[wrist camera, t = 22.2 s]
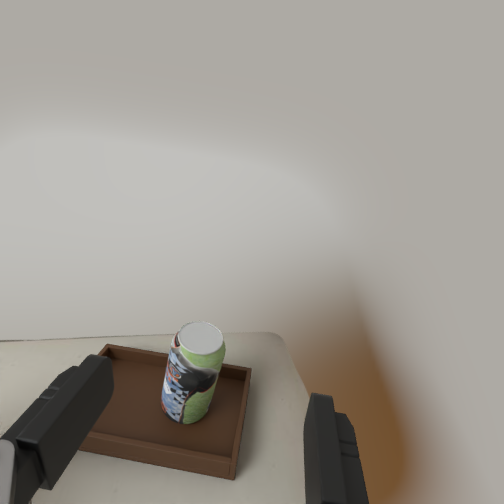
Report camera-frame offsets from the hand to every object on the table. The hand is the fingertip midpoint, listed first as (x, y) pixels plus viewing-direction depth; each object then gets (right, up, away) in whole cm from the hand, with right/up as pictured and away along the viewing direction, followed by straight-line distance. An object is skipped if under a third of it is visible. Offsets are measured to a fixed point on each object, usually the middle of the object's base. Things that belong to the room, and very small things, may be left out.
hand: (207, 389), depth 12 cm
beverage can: (-6, -14, +26) cm, 30 cm away
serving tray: (-10, -14, +26) cm, 31 cm away
